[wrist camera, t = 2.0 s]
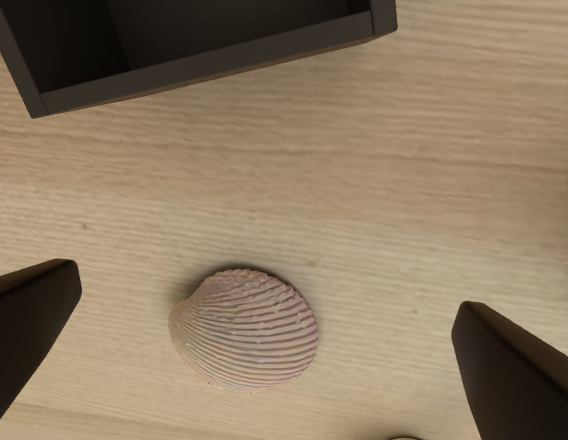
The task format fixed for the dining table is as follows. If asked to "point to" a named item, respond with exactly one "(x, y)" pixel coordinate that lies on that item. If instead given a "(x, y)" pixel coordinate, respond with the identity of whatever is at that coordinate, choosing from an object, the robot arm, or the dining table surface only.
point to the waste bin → (166, 43)
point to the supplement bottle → (404, 439)
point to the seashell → (244, 331)
